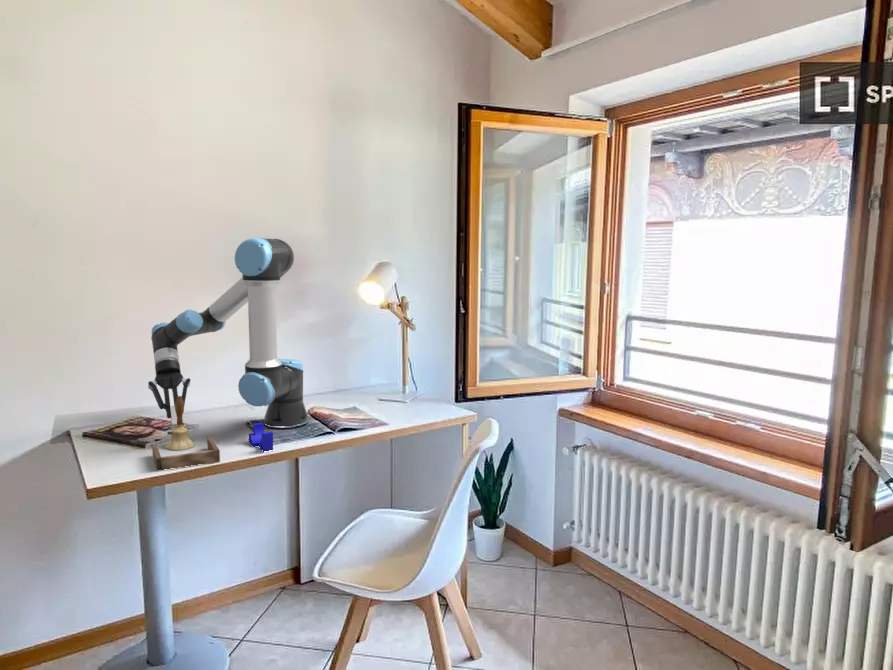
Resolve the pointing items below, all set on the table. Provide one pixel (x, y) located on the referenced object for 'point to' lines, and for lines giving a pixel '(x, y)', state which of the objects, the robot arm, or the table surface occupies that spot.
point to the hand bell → (179, 430)
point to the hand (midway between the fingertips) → (174, 425)
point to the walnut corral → (187, 457)
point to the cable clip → (261, 437)
